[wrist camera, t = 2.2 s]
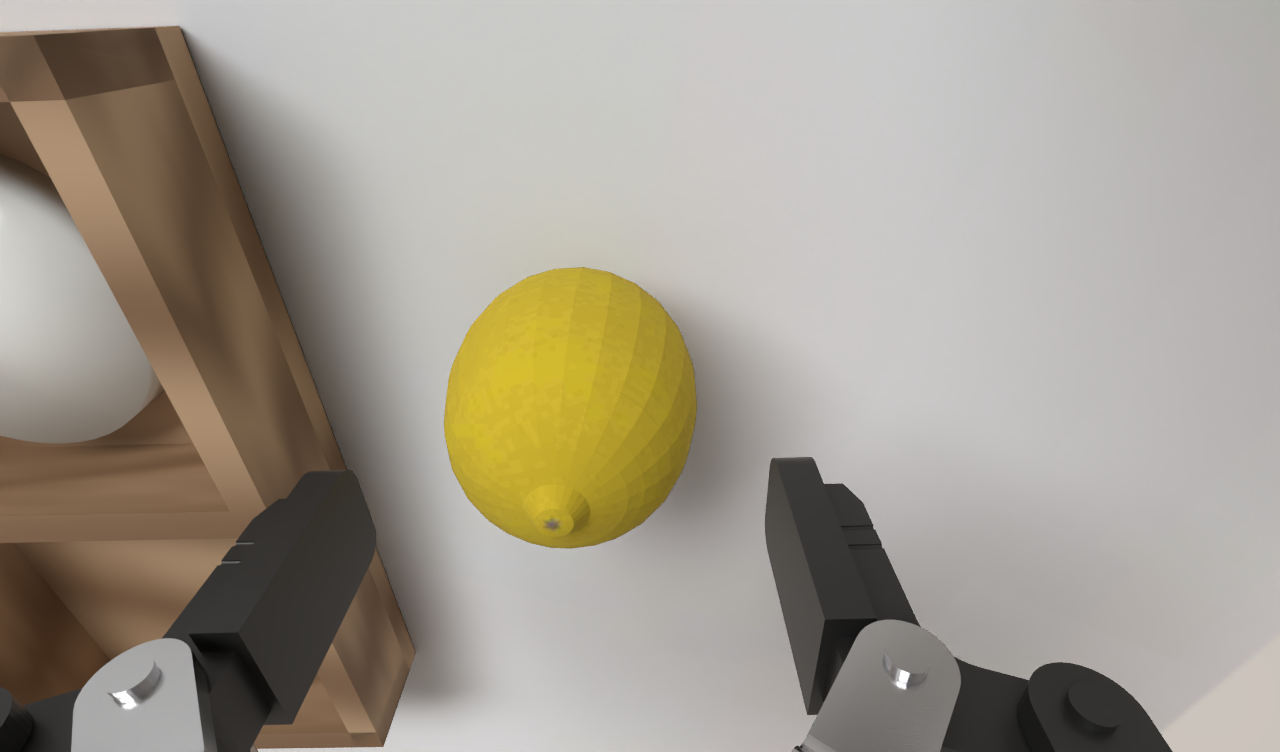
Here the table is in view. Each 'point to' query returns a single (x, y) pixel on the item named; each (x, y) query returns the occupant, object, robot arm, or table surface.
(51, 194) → the white egg
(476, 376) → the lemon
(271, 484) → the divided wooden tray
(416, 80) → the table surface
